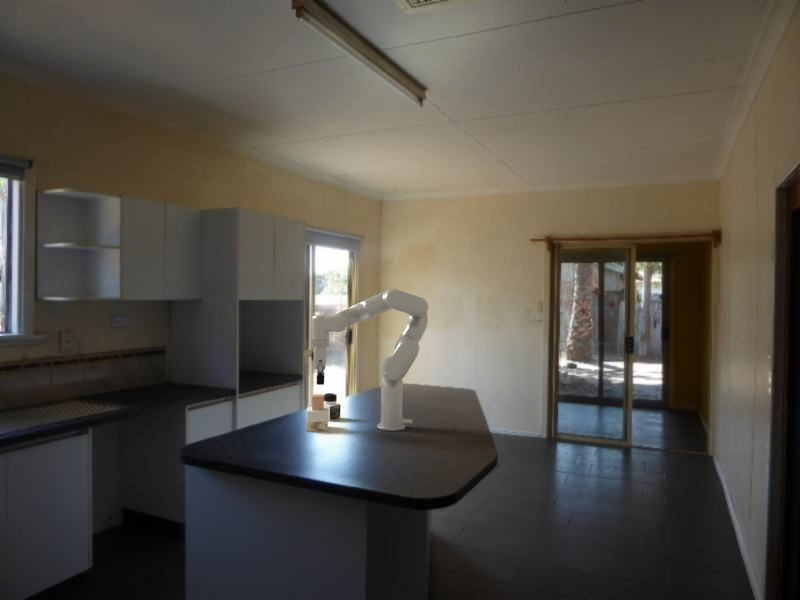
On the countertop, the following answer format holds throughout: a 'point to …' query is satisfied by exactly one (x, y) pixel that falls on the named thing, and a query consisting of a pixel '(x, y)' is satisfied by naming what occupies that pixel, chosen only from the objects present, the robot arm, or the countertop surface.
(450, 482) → the countertop surface
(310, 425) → the beech block
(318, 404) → the terracotta block
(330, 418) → the medicine bottle
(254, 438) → the countertop surface
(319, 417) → the cream block
